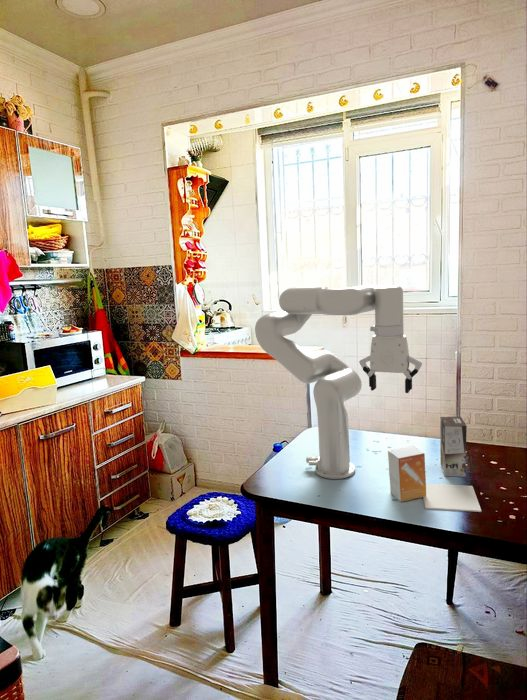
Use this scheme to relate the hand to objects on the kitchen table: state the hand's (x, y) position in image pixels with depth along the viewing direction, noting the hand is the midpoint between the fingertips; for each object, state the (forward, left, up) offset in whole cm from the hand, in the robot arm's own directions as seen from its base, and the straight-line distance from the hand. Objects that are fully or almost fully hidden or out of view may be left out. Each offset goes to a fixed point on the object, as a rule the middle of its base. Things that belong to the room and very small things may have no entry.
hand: (390, 390), depth 141 cm
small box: (+4, -5, -30) cm, 30 cm away
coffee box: (+18, +13, -30) cm, 37 cm away
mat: (+15, -5, -30) cm, 34 cm away
